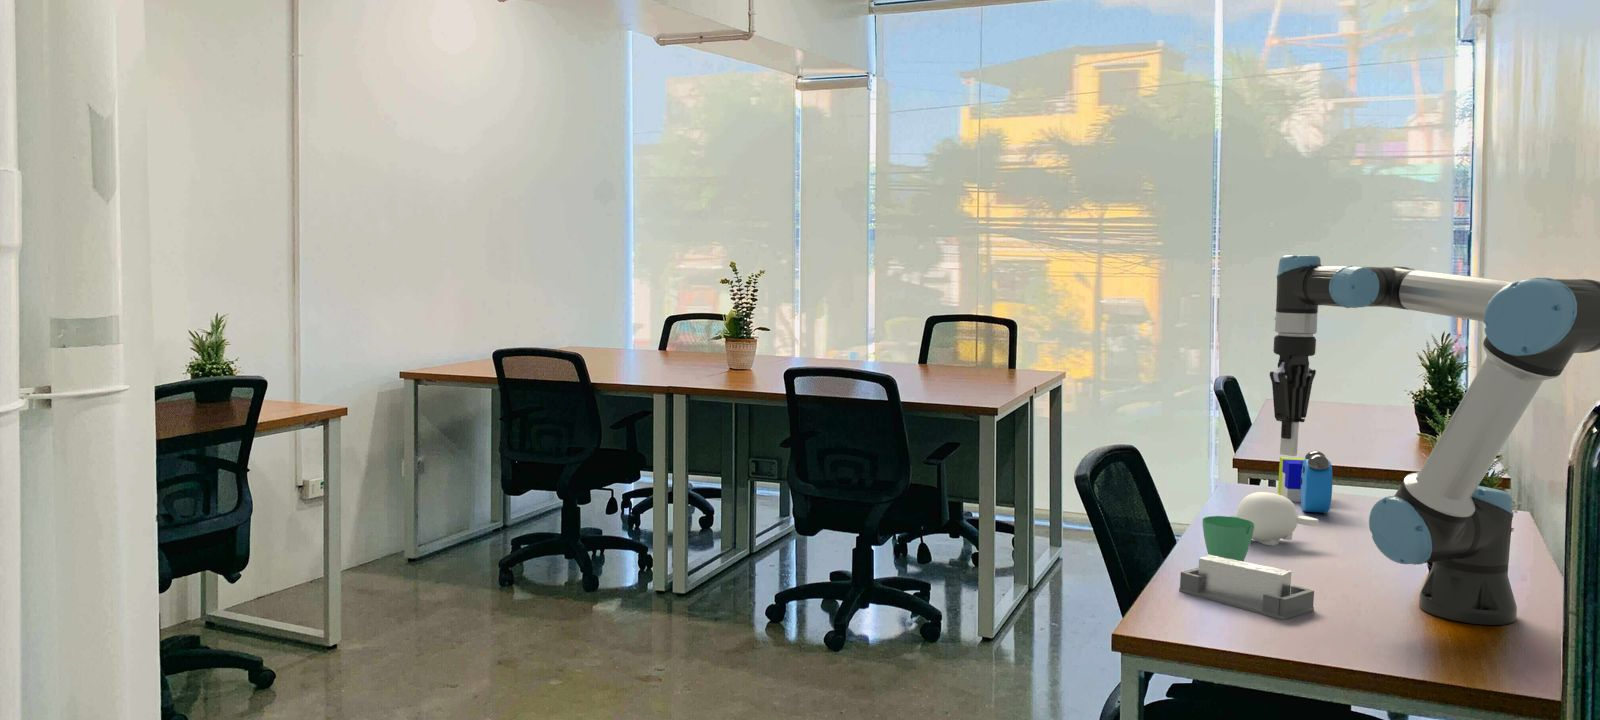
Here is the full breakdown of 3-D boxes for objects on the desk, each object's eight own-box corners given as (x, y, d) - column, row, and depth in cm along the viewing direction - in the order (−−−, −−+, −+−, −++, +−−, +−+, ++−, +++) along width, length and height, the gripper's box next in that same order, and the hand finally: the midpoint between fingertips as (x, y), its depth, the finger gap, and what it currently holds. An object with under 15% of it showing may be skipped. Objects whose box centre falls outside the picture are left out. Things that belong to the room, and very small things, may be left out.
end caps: (1313, 610, 207) (1314, 590, 207) (1283, 620, 201) (1284, 599, 201) (1209, 582, 224) (1210, 564, 224) (1178, 590, 218) (1179, 572, 218)
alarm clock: (1330, 518, 282) (1334, 458, 281) (1303, 516, 284) (1306, 456, 283) (1324, 508, 295) (1328, 449, 293) (1298, 505, 297) (1301, 448, 295)
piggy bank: (1244, 553, 253) (1309, 558, 255) (1258, 506, 249) (1324, 511, 250) (1221, 524, 265) (1283, 528, 266) (1234, 479, 260) (1297, 484, 262)
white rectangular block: (1289, 603, 209) (1291, 571, 208) (1280, 608, 206) (1282, 575, 205) (1207, 585, 220) (1208, 554, 219) (1197, 589, 217) (1199, 558, 216)
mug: (1248, 579, 227) (1250, 529, 226) (1196, 572, 231) (1198, 523, 230) (1257, 562, 239) (1260, 515, 238) (1208, 556, 244) (1210, 509, 243)
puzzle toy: (1287, 501, 302) (1289, 463, 302) (1277, 493, 312) (1279, 457, 311) (1327, 503, 301) (1329, 465, 300) (1317, 495, 311) (1319, 458, 310)
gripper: (1294, 332, 232) (1288, 449, 234) (1258, 334, 224) (1252, 455, 226) (1331, 335, 226) (1324, 454, 228) (1295, 337, 218) (1288, 460, 220)
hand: (1288, 454), depth 227 cm, fingers closed
